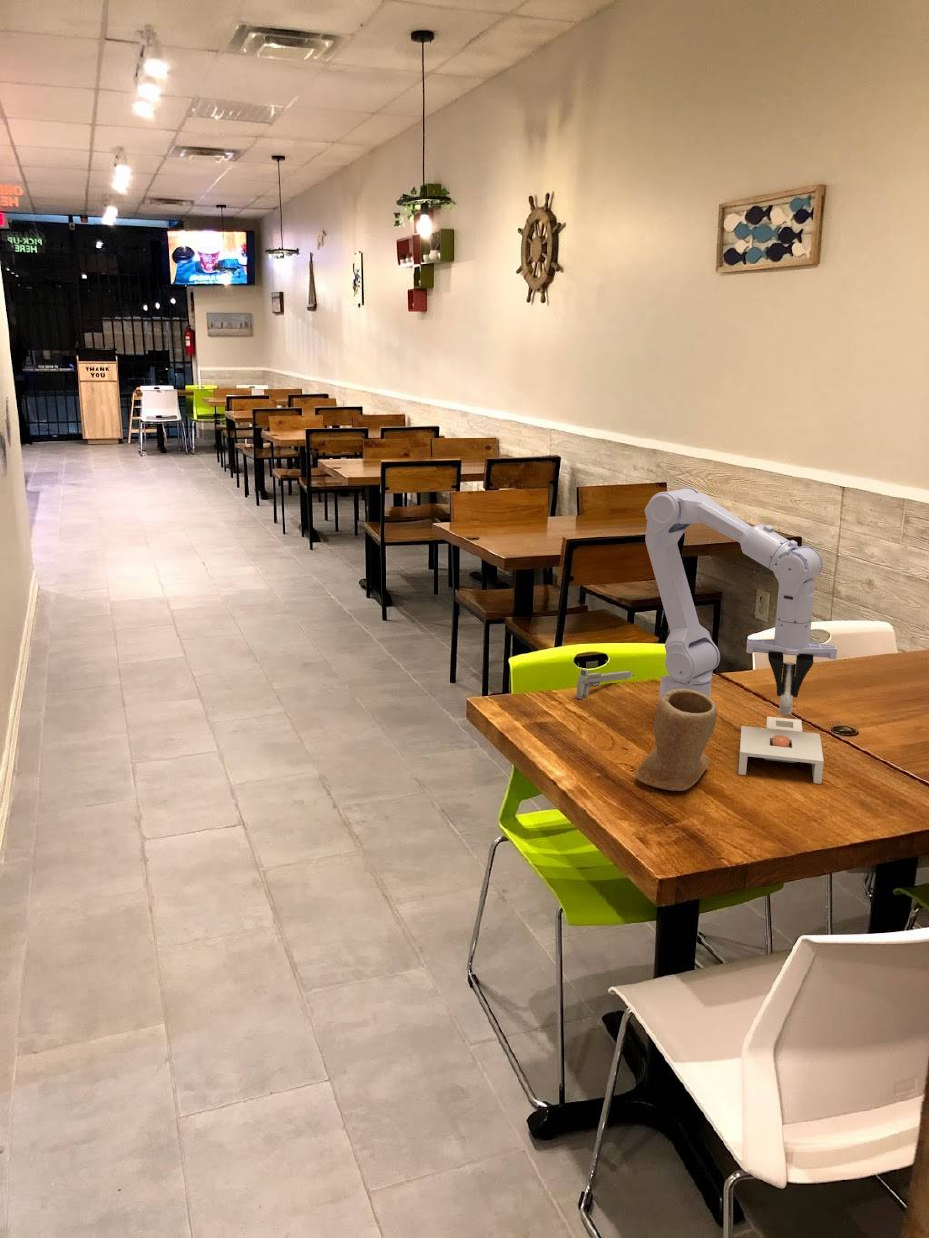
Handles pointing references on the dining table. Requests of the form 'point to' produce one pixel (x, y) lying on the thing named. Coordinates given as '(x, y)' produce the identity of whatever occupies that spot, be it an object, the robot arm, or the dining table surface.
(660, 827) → the dining table surface
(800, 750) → the white slotted stand
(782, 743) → the button
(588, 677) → the caliper
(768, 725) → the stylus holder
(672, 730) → the stone cup
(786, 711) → the stylus
